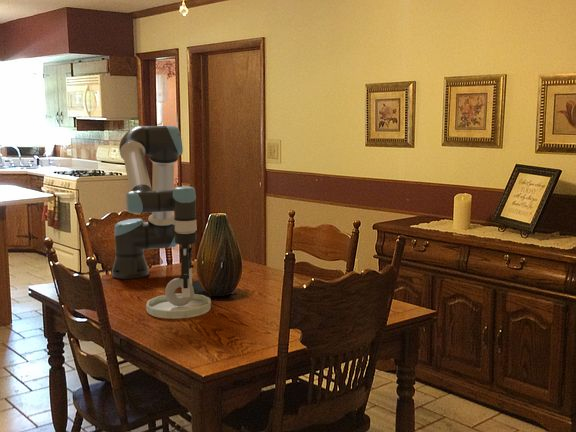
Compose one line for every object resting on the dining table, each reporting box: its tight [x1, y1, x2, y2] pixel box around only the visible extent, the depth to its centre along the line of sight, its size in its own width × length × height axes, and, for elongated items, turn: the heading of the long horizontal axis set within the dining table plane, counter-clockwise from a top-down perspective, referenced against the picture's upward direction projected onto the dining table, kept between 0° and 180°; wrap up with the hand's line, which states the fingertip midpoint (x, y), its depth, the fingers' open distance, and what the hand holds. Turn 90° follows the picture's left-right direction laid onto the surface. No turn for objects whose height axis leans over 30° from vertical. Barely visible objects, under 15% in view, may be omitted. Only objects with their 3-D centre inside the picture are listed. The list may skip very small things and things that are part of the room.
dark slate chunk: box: [192, 279, 237, 298], centre depth 262 cm, size 15×22×5 cm
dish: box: [145, 292, 212, 320], centre depth 236 cm, size 22×22×3 cm
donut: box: [164, 277, 195, 306], centre depth 236 cm, size 10×4×10 cm, turn 102°
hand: (187, 291), depth 236 cm, fingers open, 13 cm apart
